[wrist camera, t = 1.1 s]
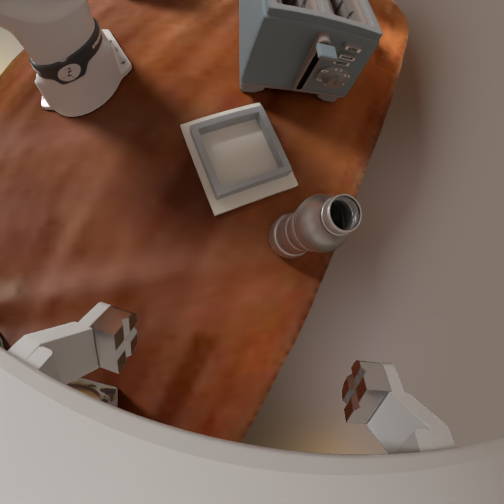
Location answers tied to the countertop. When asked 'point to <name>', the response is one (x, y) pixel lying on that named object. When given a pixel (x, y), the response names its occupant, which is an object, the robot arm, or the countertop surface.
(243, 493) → the robot arm
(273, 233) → the plastic bottle
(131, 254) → the countertop surface
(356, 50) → the toaster
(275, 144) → the bottle holder
